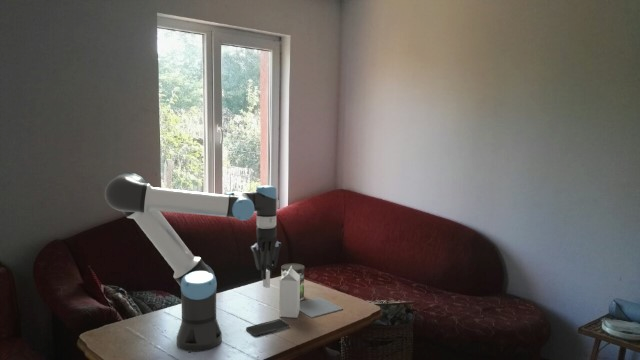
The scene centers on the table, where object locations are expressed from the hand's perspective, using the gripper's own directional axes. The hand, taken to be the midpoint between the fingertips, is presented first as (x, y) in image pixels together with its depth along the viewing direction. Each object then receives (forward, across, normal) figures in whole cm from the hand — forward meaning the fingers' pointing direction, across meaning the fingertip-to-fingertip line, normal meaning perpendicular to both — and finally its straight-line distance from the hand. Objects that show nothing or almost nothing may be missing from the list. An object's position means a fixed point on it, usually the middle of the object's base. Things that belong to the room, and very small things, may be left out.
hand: (266, 286), depth 182 cm
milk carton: (+14, +11, 0) cm, 17 cm away
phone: (+14, -3, -7) cm, 16 cm away
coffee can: (+14, +22, +15) cm, 30 cm away
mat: (+14, +24, 0) cm, 27 cm away
